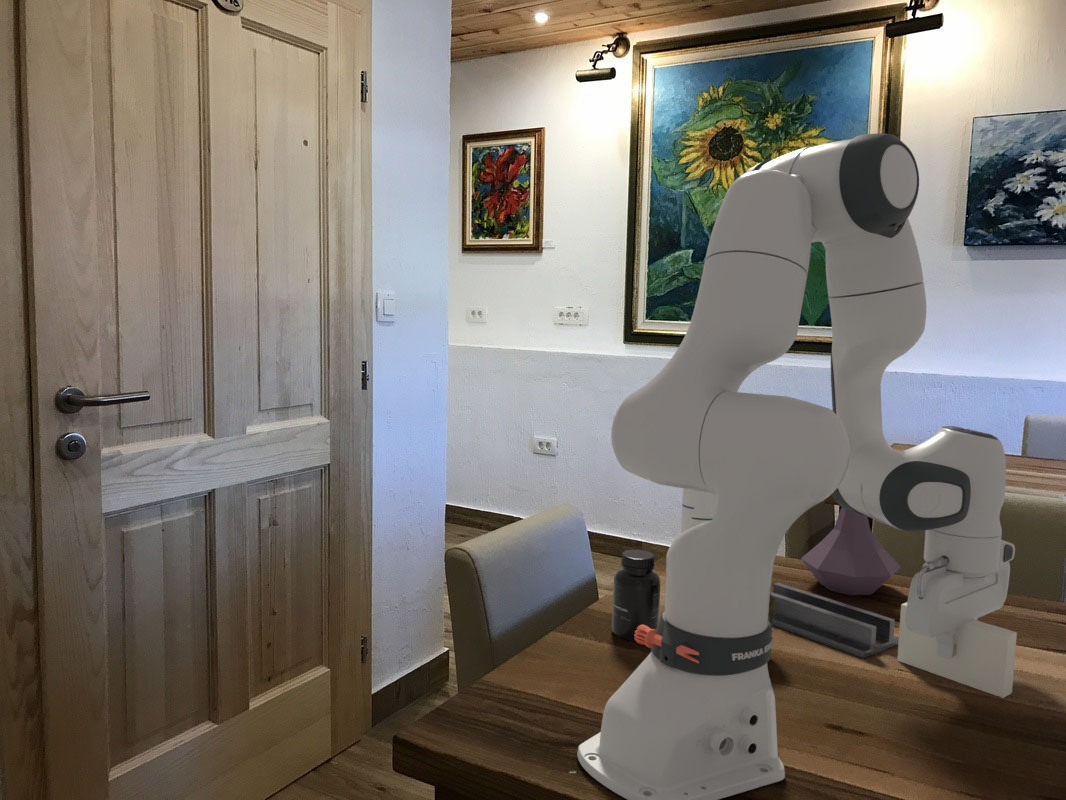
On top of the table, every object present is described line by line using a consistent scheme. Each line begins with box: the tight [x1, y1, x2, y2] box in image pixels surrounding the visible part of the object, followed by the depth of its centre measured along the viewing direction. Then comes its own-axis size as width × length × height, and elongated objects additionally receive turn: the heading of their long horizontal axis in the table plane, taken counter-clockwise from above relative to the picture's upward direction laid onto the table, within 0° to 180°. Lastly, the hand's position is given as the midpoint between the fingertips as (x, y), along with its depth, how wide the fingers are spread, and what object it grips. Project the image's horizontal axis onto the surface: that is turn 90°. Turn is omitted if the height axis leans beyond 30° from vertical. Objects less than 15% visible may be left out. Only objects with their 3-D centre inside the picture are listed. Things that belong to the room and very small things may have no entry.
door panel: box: [896, 601, 1018, 699], centre depth 113 cm, size 14×2×8 cm, turn 38°
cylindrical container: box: [680, 488, 717, 534], centre depth 154 cm, size 7×7×25 cm
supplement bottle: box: [611, 549, 661, 642], centre depth 126 cm, size 7×7×12 cm
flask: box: [800, 506, 902, 596], centre depth 149 cm, size 16×16×20 cm
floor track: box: [770, 582, 899, 660], centre depth 129 cm, size 20×9×4 cm, turn 38°
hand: (953, 653), depth 113 cm, fingers closed on door panel, 2 cm apart
